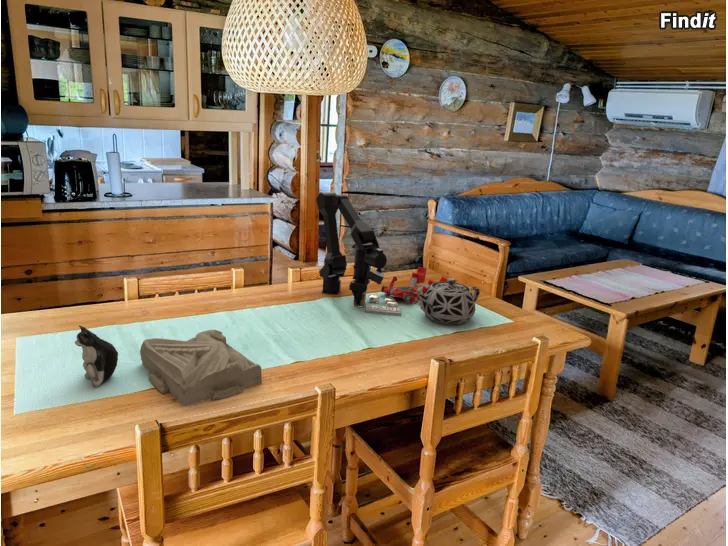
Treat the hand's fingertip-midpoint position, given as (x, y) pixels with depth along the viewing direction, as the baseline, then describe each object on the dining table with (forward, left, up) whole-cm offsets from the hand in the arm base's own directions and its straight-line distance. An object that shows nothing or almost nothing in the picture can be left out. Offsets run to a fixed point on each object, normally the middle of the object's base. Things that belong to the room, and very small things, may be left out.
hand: (359, 302), depth 210 cm
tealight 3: (+13, +1, -1) cm, 13 cm away
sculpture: (-34, -67, -2) cm, 76 cm away
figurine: (-58, -77, -1) cm, 96 cm away
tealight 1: (+5, +6, -1) cm, 8 cm away
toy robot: (+20, +19, -2) cm, 27 cm away
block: (0, 0, -1) cm, 1 cm away
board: (+10, -4, -1) cm, 10 cm away
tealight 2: (+11, +5, -1) cm, 12 cm away
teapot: (+32, -6, -1) cm, 32 cm away
